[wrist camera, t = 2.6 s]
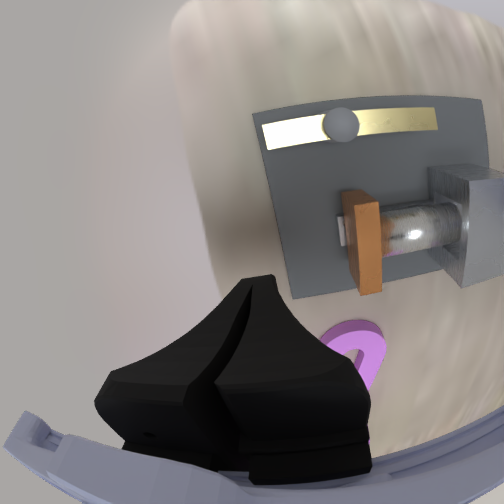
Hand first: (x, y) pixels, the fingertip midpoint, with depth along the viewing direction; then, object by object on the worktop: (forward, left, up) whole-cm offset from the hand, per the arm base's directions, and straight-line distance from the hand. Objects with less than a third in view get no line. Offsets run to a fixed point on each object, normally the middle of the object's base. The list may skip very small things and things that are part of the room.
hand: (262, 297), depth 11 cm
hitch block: (-11, 0, -7) cm, 12 cm away
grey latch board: (-9, -1, -7) cm, 11 cm away
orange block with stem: (-8, 0, -5) cm, 10 cm away
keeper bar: (-6, -6, -5) cm, 10 cm away
